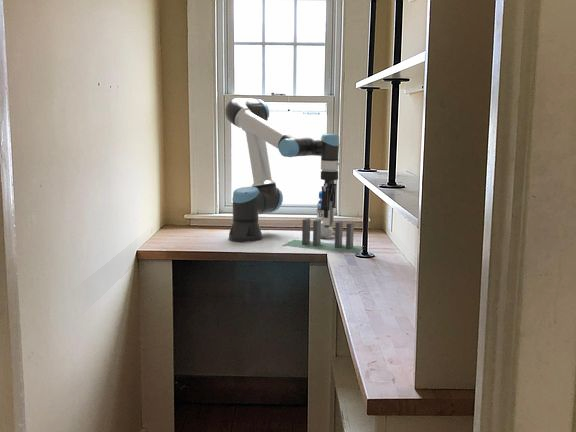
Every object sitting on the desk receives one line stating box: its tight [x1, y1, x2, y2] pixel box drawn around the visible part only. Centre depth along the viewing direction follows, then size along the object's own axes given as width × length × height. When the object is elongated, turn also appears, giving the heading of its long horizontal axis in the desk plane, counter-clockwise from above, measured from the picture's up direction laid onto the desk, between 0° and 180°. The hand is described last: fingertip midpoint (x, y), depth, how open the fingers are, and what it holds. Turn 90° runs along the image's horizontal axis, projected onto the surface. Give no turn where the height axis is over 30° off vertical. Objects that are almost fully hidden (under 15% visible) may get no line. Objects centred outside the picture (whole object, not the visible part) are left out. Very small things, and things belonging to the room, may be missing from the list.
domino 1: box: [301, 217, 311, 245], centre depth 262 cm, size 2×5×11 cm, turn 158°
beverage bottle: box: [316, 190, 334, 228], centre depth 289 cm, size 8×8×20 cm
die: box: [321, 221, 335, 239], centre depth 277 cm, size 8×9×10 cm
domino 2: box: [312, 218, 322, 246], centre depth 260 cm, size 2×5×11 cm, turn 158°
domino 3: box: [325, 201, 333, 228], centre depth 257 cm, size 2×5×11 cm, turn 158°
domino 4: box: [334, 220, 344, 248], centre depth 257 cm, size 2×5×11 cm, turn 158°
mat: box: [282, 239, 363, 255], centre depth 259 cm, size 34×14×1 cm, turn 68°
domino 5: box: [345, 221, 355, 249], centre depth 255 cm, size 2×5×11 cm, turn 158°
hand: (328, 223), depth 258 cm, fingers closed on domino 3, 5 cm apart
